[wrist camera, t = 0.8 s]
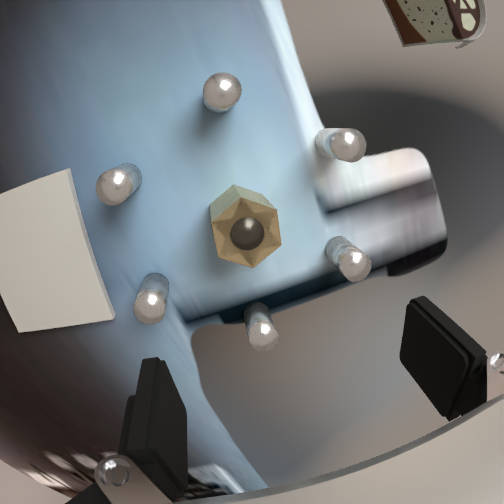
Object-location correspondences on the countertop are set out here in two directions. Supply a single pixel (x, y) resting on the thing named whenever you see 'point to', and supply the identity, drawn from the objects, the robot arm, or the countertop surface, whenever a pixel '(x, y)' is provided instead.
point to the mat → (48, 258)
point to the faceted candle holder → (244, 226)
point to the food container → (437, 20)
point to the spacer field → (256, 313)
